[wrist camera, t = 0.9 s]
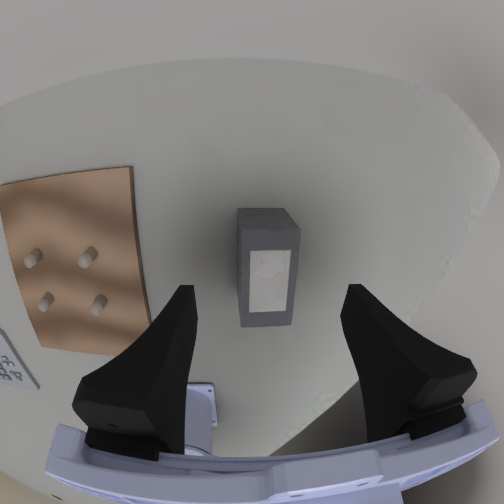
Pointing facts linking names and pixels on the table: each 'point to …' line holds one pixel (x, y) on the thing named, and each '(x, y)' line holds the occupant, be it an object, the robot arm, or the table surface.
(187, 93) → the table surface
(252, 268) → the block
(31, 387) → the office telephone
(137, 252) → the pin tray
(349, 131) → the table surface
